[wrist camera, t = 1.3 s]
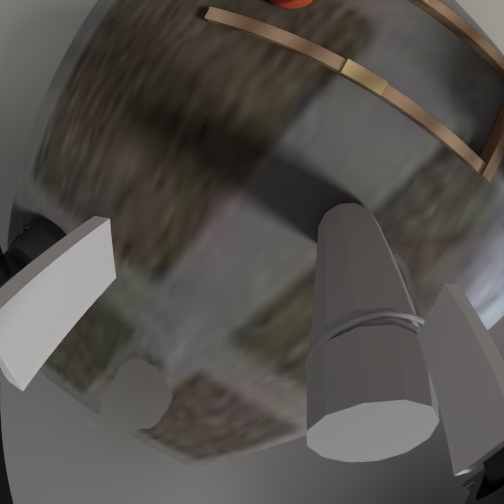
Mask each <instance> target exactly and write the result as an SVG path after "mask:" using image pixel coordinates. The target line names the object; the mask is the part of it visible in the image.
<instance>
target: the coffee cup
mask: <svg viewBox="0 0 504 504" xmlns="http://www.w3.org/2000/svg"><path fill="white" fill-rule="evenodd" d="M268 1H269V2H270V3H272V4H273V5H275V6H278V7H281V8H285V9H297V8H301V7H304V6H306V5H308V4H310V3H311V2H312V1H313V0H268Z"/></svg>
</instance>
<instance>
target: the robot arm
mask: <svg viewBox="0 0 504 504" xmlns="http://www.w3.org/2000/svg"><path fill="white" fill-rule="evenodd" d="M115 278H116V273H115V265H114V257H113V249H112V239H111V228H110V219H109V218H104V217H98V216H94V217H92V218H91V219H90V220H88V221H87V222H85V223H84V224H82V225H81V226H79V227H78V228H76V229H75V230H74V231H72V232H71V233H69V234H68V235H67V236H66V235H65V234H64V232H63V231H62V230H61V229H60V228H59V227H57V226H56V225H55V224H53V223H52V222H50V221H48V220H44V219H36V220H34V221H32V222H31V223H29V224H28V225H26V226H25V227H24V228H23V229H22V230H21V232H20V234H19V235H18V236H17V237H16V239H15V240H14V241H13V243H12V244H11V246H10V247H9V249H8V250H7V251H6V252H5V253H4V254H3V253H2V250H1V247H0V369H1V371H2V372H3V374H4V375H5V377H6V378H7V380H8V381H9V382H11V383H12V384H13V385H15V386H16V387H18V388H19V389H20V390H22V391H24V389H25V388H26V386H27V385H28V384H29V382H30V381H31V380H32V378H33V377H34V376H35V374H36V373H37V372H38V370H39V369H40V368H41V366H42V365H43V364H44V362H45V361H46V360H47V358H48V357H49V356H50V355H51V353H52V352H53V351H54V349H55V348H56V347H57V346H58V344H59V343H60V342H61V341H62V340H63V338H64V337H65V336H66V335H67V333H68V332H69V331H70V330H71V329H72V327H73V326H74V325H75V324H76V323H77V321H78V320H79V319H80V318H81V317H82V316H83V314H84V313H85V312H86V311H87V310H88V309H89V307H90V306H91V305H92V304H93V303H94V302H95V301H96V299H97V298H98V297H99V296H100V295H101V294H102V293H103V292H104V290H105V289H106V288H107V287H108V286H109V285H110V284H111V283H112V282H113V281H114V279H115ZM417 338H418V341H419V344H420V346H421V349H422V352H423V355H424V358H425V361H426V364H427V367H428V370H429V373H430V377H431V380H432V383H433V386H434V390H435V393H436V397H437V400H438V404H439V408H440V411H441V415H442V419H443V423H444V428H445V432H446V436H447V441H448V445H449V450H450V455H451V461H452V466H453V472H454V476H456V475H460V474H464V473H468V472H471V471H472V470H474V469H475V468H477V467H478V466H480V465H481V464H482V463H483V464H484V469H483V470H481V471H480V472H478V473H477V474H475V475H474V476H472V477H471V478H469V479H468V480H466V481H465V482H464V484H463V486H464V487H465V486H466V485H468V484H470V483H471V482H473V481H475V482H474V483H473V484H472V485H470V486H469V487H468V488H467V489H469V490H470V493H469V496H468V498H467V500H466V502H465V504H504V361H503V359H502V358H501V356H500V353H499V352H498V350H497V348H496V346H495V344H494V342H493V340H492V339H491V337H490V335H489V333H488V331H487V330H486V328H485V326H484V325H483V323H482V321H481V319H480V318H479V316H478V315H477V313H476V311H475V310H474V308H473V306H472V305H471V303H470V302H469V300H468V299H467V297H466V296H465V294H464V292H463V291H462V289H461V288H460V286H458V285H453V284H448V283H445V284H444V286H443V288H442V290H441V292H440V294H439V296H438V298H437V300H436V302H435V304H434V306H433V308H432V310H431V311H430V313H429V315H428V317H427V319H426V320H425V322H424V324H423V326H422V327H421V329H420V331H419V333H418V334H417ZM0 415H1V414H0ZM0 504H13V501H12V496H11V492H10V487H9V483H8V477H7V472H6V466H5V459H4V452H3V443H2V432H1V416H0Z"/></svg>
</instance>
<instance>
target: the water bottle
mask: <svg viewBox="0 0 504 504" xmlns="http://www.w3.org/2000/svg"><path fill="white" fill-rule="evenodd" d="M396 262H397V263H398V264H399V265H400V266H401V268H402V270H403V272H404V273H405V276H406V280H407V284H408V288H409V292H410V296H411V299H410V296H409V293H408V291H407V288H406V286H405V283H404V281H403V278H402V276H401V273H400V271H399V269H398V266H397V264H396ZM425 320H426V319H425V318H422V317H421V315H420V310H419V306H418V302H417V298H416V294H415V290H414V286H413V282H412V278H411V274H410V271H409V268H408V266H407V264H406V263H405V261H404V260H403V259H402V257H401V256H400V255H396V254H392V252H391V250H390V248H389V246H388V243H387V241H386V239H385V237H384V235H383V233H382V230H381V228H380V226H379V224H378V222H377V221H376V219H375V217H374V216H373V214H372V213H371V211H370V210H369V209H367V208H365V207H363V206H361V205H359V204H357V203H345V204H338V205H337V206H335V207H333V208H332V209H330V210H329V211H327V212H326V213H325V214H324V216H323V218H322V220H321V222H320V224H319V226H318V242H317V261H316V277H315V291H314V304H313V315H312V326H311V336H310V352H309V353H308V355H307V361H306V367H305V377H306V379H307V446H308V447H310V448H311V449H312V450H314V451H315V452H317V453H318V454H320V455H321V456H323V457H325V458H330V459H335V460H340V461H345V462H365V461H378V460H382V459H386V458H389V457H392V456H396V455H399V454H402V453H405V452H408V451H409V450H411V449H412V448H414V447H416V446H417V445H419V444H420V443H422V442H423V441H425V440H426V439H428V438H429V437H430V436H431V434H432V432H433V431H434V429H435V428H436V426H437V424H438V422H439V411H438V400H437V397H436V393H435V390H434V386H433V383H432V380H431V377H430V373H429V370H428V367H427V364H426V361H425V358H424V355H423V352H422V349H421V346H420V344H419V341H418V338H417V334H418V333H419V331H420V329H421V327H422V326H423V324H424V322H425Z"/></svg>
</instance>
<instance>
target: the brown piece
mask: <svg viewBox="0 0 504 504" xmlns="http://www.w3.org/2000/svg"><path fill="white" fill-rule="evenodd" d="M409 1H410V2H412V3H413V4H415V5H416V6H418V7H419V8H421V9H422V10H424V11H425V12H427V13H428V14H430V15H431V16H432V17H434V18H435V19H436V20H438V21H439V22H440V23H442V24H443V25H444V26H446V27H447V28H448V29H450V30H451V31H452V32H453V33H455V34H456V35H457V36H458V37H459V38H461V39H462V40H463V41H464V42H465V43H466V44H468V45H469V46H470V47H471V48H472V49H473V50H474V51H475V52H476V53H478V54H479V55H480V56H481V57H482V58H483V59H484V60H485V61H486V62H487V63H488V64H489V65H490V66H491V67H492V68H493V69H494V70H495V71H496V72H497V73H498V74H499V75H500V76H501V77H502V79H503V80H504V58H503V57H502V56H501V55H500V54H499V53H498V52H497V51H496V50H495V49H494V48H493V47H492V46H491V45H490V44H489V43H488V42H487V41H486V40H485V39H484V38H483V37H482V36H481V35H480V34H478V33H477V32H476V31H475V30H474V29H473V28H472V27H471V26H469V25H468V24H467V23H466V22H465V21H464V20H462V19H461V18H460V17H459V16H457V15H456V14H455V13H454V12H452V11H451V10H450V9H448V8H447V7H446V6H445V5H443V4H442V3H440V2H439V1H438V0H409ZM204 18H205V19H206V20H207V21H208V22H210V23H213V24H216V25H220V26H223V27H226V28H230V29H233V30H236V31H239V32H242V33H245V34H248V35H251V36H254V37H256V38H259V39H262V40H264V41H267V42H270V43H272V44H275V45H277V46H280V47H282V48H284V49H287V50H289V51H291V52H294V53H296V54H298V55H301V56H303V57H305V58H307V59H309V60H311V61H313V62H315V63H318V64H320V65H322V66H324V67H326V68H328V69H329V70H331V71H333V72H335V73H337V74H339V75H341V76H343V77H345V78H346V79H348V80H350V81H352V82H353V83H355V84H357V85H359V86H360V87H362V88H364V89H365V90H367V91H369V92H370V93H372V94H374V95H375V96H377V97H378V98H380V99H382V100H383V101H385V102H386V103H388V104H389V105H391V106H392V107H394V108H395V109H397V110H398V111H400V112H401V113H402V114H404V115H405V116H407V117H408V118H410V119H411V120H412V121H414V122H415V123H416V124H418V125H419V126H420V127H422V128H423V129H424V130H426V131H427V132H428V133H430V134H431V135H432V136H433V137H435V138H436V139H437V140H438V141H440V142H441V143H442V144H443V145H444V146H446V147H447V148H448V149H449V150H450V151H452V152H453V153H454V154H455V155H456V156H457V157H458V158H460V159H461V160H462V161H463V162H464V163H465V164H466V165H467V166H468V167H469V168H470V169H472V170H473V171H474V172H475V173H476V174H477V175H478V176H479V177H480V178H482V179H484V180H486V181H488V182H490V181H491V179H492V177H493V175H494V173H495V171H496V169H497V167H498V165H499V164H500V162H501V160H502V158H503V156H504V104H503V107H502V109H501V112H500V114H499V116H498V118H497V121H496V123H495V125H494V127H493V129H492V132H491V134H490V136H489V138H488V140H487V142H486V144H485V146H484V148H483V150H482V152H481V154H480V156H478V155H476V154H475V153H474V152H473V151H472V150H471V149H470V148H469V147H468V146H467V145H466V144H465V143H464V142H463V141H462V140H460V139H459V138H458V137H457V136H456V135H455V134H454V133H452V132H451V131H450V130H449V129H448V128H447V127H445V126H444V125H443V124H442V123H441V122H439V121H438V120H437V119H436V118H434V117H433V116H432V115H431V114H429V113H428V112H427V111H425V110H424V109H423V108H422V107H420V106H419V105H417V104H416V103H415V102H413V101H412V100H411V99H409V98H408V97H406V96H405V95H404V94H402V93H401V92H399V91H398V90H396V89H395V88H393V87H392V86H390V85H389V84H387V83H388V82H387V81H385V80H384V79H382V78H381V77H379V76H377V75H376V74H374V73H372V72H371V71H369V70H367V69H366V68H364V67H362V66H361V65H359V64H357V63H355V62H353V61H352V60H350V59H348V60H347V59H345V58H343V57H341V56H339V55H337V54H335V53H333V52H331V51H329V50H327V49H325V48H323V47H321V46H319V45H317V44H315V43H313V42H310V41H308V40H306V39H304V38H301V37H299V36H297V35H294V34H292V33H289V32H287V31H285V30H282V29H279V28H277V27H274V26H272V25H269V24H266V23H263V22H260V21H258V20H255V19H252V18H248V17H245V16H242V15H239V14H236V13H232V12H229V11H225V10H221V9H218V8H214V7H210V8H209V10H208V12H207V14H206V15H205V17H204Z"/></svg>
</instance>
